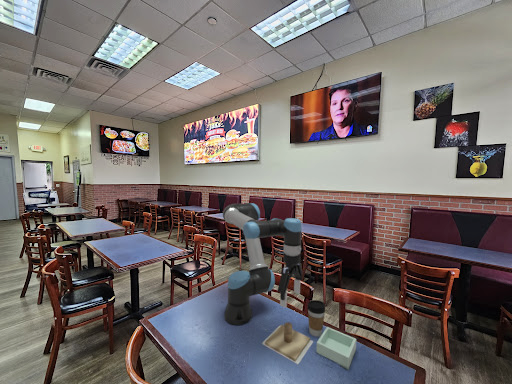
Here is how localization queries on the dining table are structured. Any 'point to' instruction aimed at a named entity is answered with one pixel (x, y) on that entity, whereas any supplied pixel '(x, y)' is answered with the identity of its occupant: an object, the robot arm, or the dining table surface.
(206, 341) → the dining table surface
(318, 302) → the coffee cup
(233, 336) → the dining table surface
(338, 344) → the dish
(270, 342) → the lid
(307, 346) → the mat
